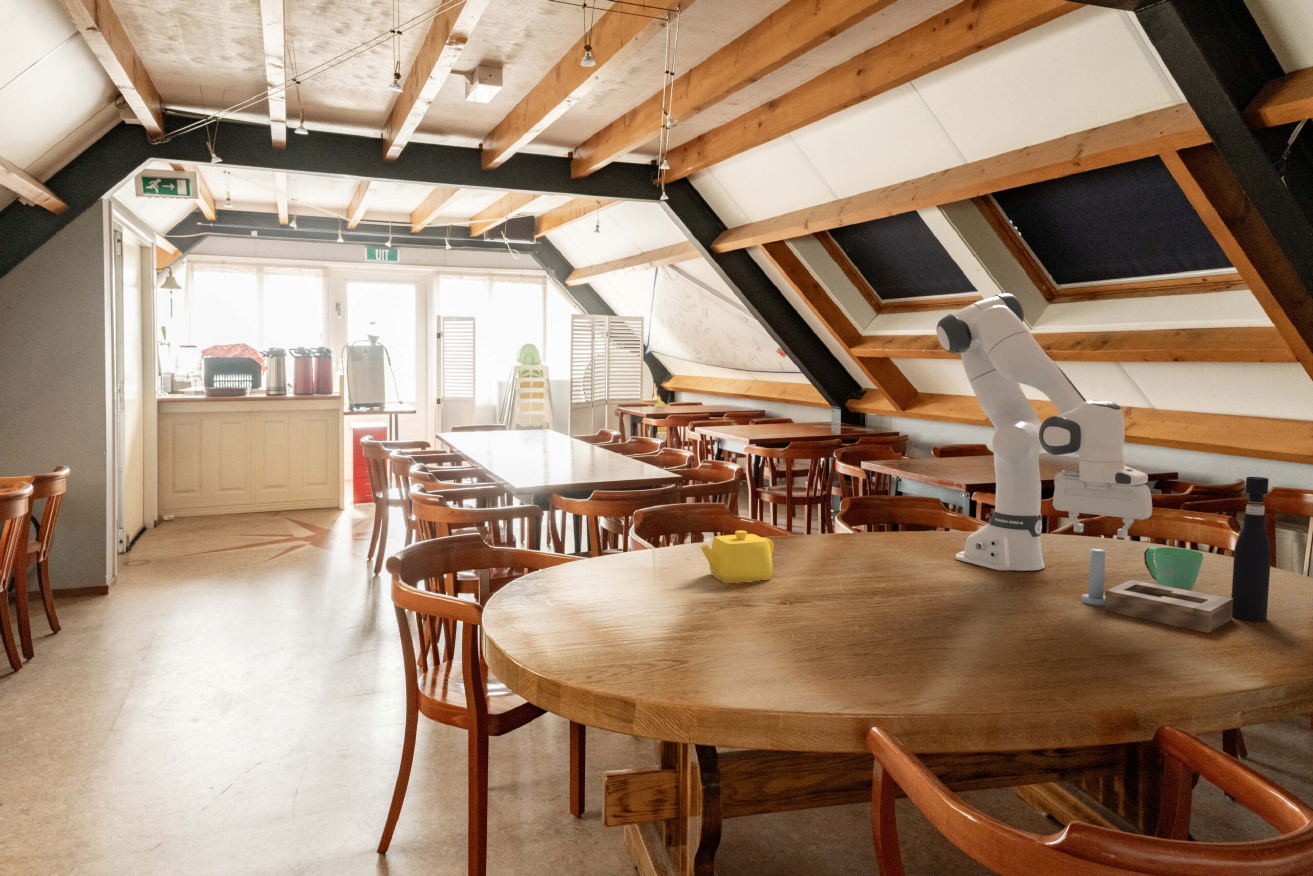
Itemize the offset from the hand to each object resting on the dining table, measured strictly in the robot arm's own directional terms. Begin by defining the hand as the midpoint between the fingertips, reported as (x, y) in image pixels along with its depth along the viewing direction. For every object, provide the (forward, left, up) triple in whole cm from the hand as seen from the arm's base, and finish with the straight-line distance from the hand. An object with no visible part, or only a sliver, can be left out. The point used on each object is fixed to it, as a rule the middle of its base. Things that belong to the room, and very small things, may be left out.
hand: (1099, 534), depth 190 cm
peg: (0, 0, -16) cm, 16 cm away
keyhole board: (+14, +2, -16) cm, 21 cm away
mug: (+7, +23, -16) cm, 29 cm away
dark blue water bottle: (+25, +14, -16) cm, 33 cm away
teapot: (-68, -46, -16) cm, 84 cm away
